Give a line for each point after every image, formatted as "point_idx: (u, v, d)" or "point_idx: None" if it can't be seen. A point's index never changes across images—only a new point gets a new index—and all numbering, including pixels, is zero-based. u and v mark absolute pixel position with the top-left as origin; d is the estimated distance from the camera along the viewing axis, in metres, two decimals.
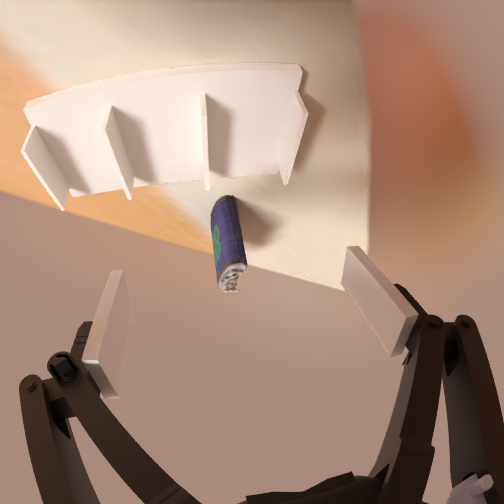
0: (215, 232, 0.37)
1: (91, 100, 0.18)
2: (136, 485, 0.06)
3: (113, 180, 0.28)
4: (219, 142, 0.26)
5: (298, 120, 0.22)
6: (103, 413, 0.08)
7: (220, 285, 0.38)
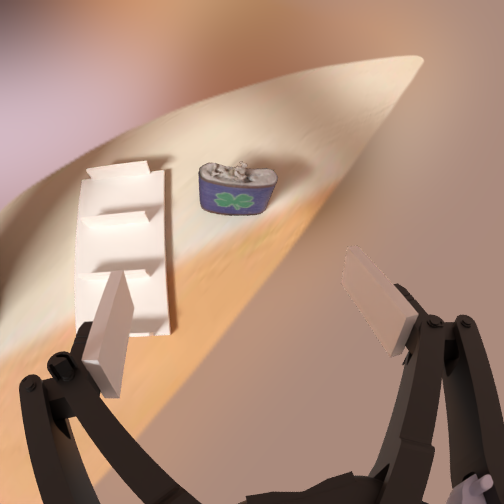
0: (224, 204, 0.38)
1: (81, 289, 0.35)
2: (136, 485, 0.06)
3: (154, 292, 0.36)
4: (126, 213, 0.38)
5: (95, 171, 0.37)
6: (103, 413, 0.08)
7: (260, 183, 0.33)
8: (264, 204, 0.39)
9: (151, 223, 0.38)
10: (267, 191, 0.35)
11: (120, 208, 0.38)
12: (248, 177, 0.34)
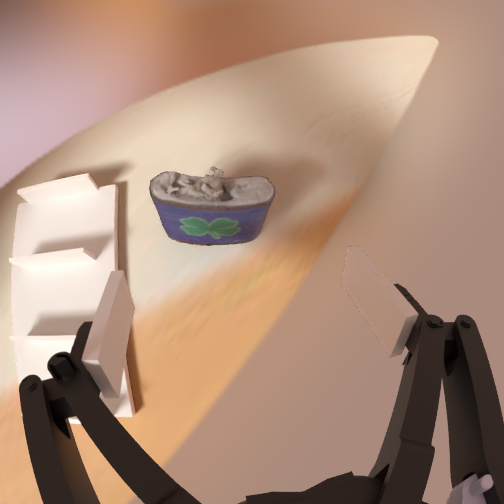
0: (197, 232, 0.25)
1: (21, 351, 0.22)
2: (136, 485, 0.06)
3: None
4: (67, 248, 0.26)
5: (27, 193, 0.24)
6: (103, 413, 0.08)
7: (247, 201, 0.21)
8: (256, 229, 0.26)
9: (98, 262, 0.26)
10: (260, 212, 0.22)
11: (60, 241, 0.26)
12: (228, 191, 0.21)
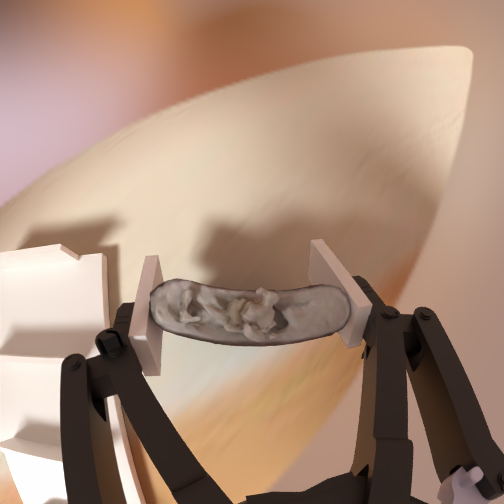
0: None
1: None
2: (163, 466, 0.07)
3: None
4: (46, 340, 0.18)
5: None
6: (145, 393, 0.09)
7: (311, 332, 0.13)
8: None
9: None
10: None
11: (36, 329, 0.18)
12: (278, 309, 0.13)
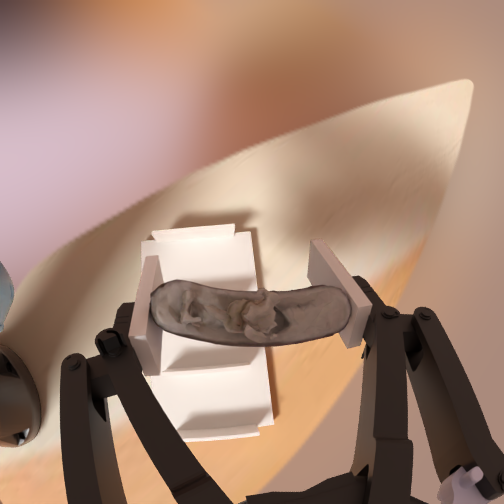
0: None
1: (160, 382, 0.30)
2: (163, 466, 0.07)
3: (254, 382, 0.31)
4: None
5: (163, 235, 0.32)
6: (145, 392, 0.09)
7: (312, 333, 0.13)
8: None
9: None
10: None
11: (200, 281, 0.33)
12: (278, 310, 0.13)
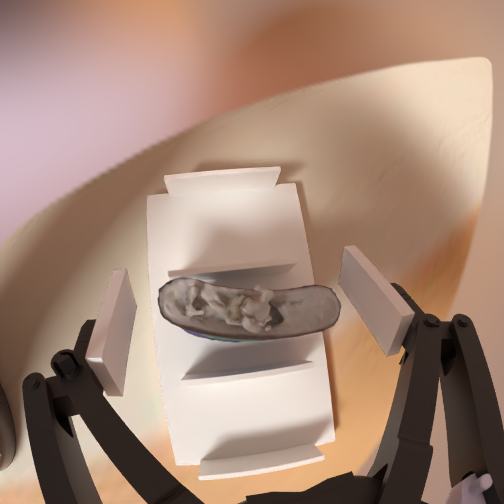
0: None
1: (175, 394, 0.20)
2: (138, 483, 0.06)
3: (310, 386, 0.22)
4: (245, 256, 0.24)
5: (180, 182, 0.22)
6: (106, 411, 0.08)
7: (304, 328, 0.14)
8: None
9: (292, 274, 0.24)
10: None
11: (232, 248, 0.24)
12: (274, 307, 0.15)
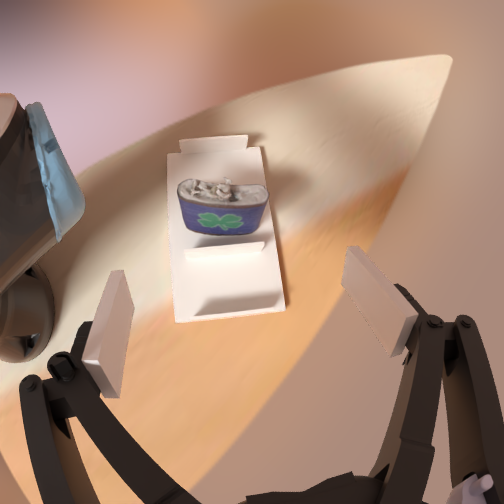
0: (210, 225, 0.33)
1: (179, 269, 0.35)
2: (136, 485, 0.06)
3: (266, 267, 0.36)
4: None
5: (188, 143, 0.37)
6: (103, 413, 0.08)
7: (248, 202, 0.29)
8: (255, 224, 0.34)
9: None
10: (258, 210, 0.30)
11: (218, 182, 0.39)
12: (235, 194, 0.29)
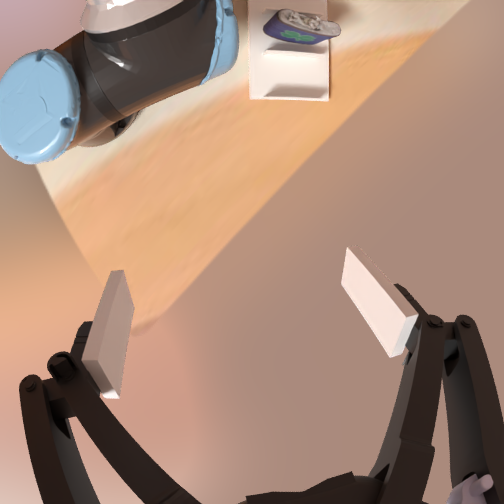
0: (288, 36, 0.35)
1: (256, 61, 0.39)
2: (136, 485, 0.06)
3: (319, 70, 0.41)
4: (297, 8, 0.35)
5: None
6: (103, 413, 0.08)
7: (327, 33, 0.31)
8: (320, 41, 0.36)
9: None
10: (329, 38, 0.32)
11: (291, 3, 0.34)
12: (317, 25, 0.31)
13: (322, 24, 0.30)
